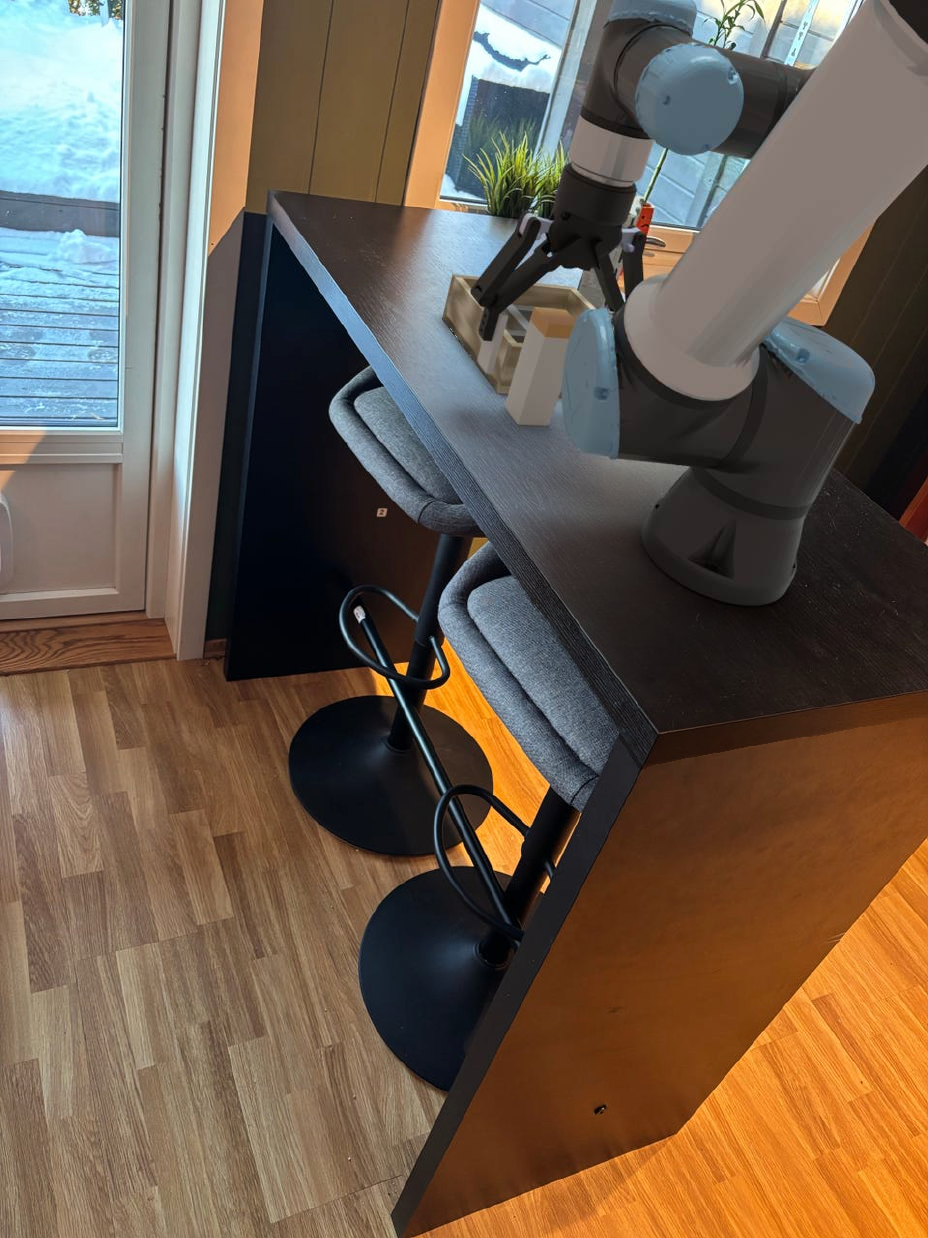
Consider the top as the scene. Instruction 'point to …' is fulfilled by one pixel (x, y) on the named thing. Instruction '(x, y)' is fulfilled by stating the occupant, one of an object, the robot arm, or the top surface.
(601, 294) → the candy bar box
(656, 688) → the top surface
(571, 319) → the plug
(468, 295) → the walled box
